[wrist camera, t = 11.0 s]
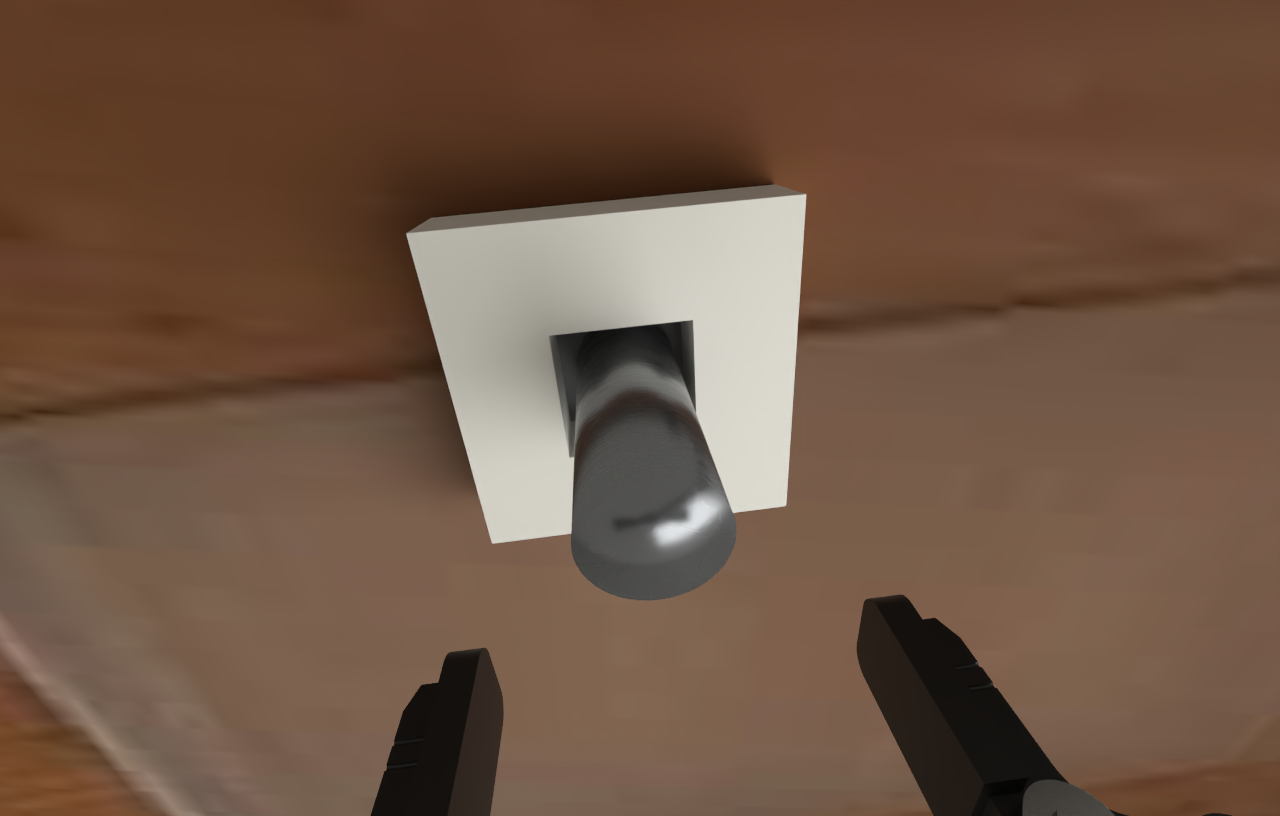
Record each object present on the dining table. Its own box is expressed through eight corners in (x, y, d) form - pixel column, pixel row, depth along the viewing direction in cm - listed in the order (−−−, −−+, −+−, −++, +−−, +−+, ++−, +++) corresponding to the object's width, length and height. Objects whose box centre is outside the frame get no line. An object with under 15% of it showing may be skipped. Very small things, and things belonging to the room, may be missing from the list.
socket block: (774, 184, 22) (806, 193, 19) (763, 465, 29) (786, 506, 26) (431, 217, 21) (406, 233, 18) (501, 497, 28) (492, 543, 25)
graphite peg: (670, 310, 24) (737, 464, 13) (674, 398, 26) (735, 590, 15) (571, 320, 24) (559, 483, 13) (583, 407, 26) (582, 609, 15)
